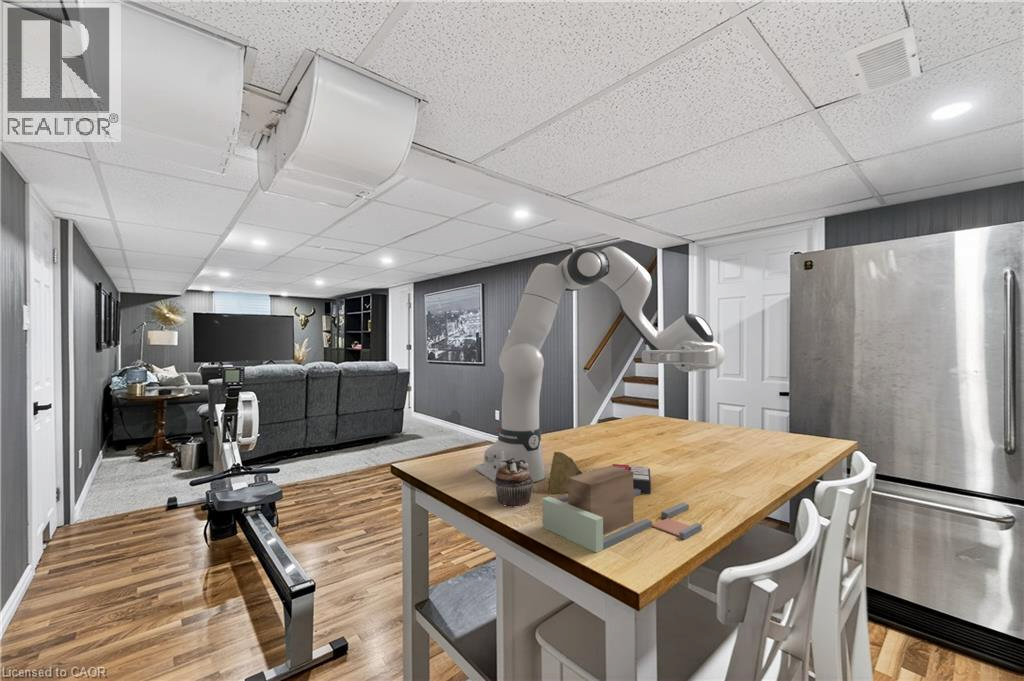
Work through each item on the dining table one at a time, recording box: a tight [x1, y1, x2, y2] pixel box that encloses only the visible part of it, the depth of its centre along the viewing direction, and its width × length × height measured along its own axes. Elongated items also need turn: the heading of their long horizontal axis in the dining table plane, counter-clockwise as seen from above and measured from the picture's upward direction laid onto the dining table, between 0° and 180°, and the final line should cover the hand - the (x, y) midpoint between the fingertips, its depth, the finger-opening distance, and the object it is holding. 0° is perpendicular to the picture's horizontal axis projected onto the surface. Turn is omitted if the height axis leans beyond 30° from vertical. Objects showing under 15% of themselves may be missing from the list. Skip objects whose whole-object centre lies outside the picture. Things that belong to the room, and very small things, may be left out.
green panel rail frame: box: [541, 488, 703, 554], centre depth 95 cm, size 30×33×6 cm
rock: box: [547, 451, 583, 495], centre depth 113 cm, size 11×9×10 cm
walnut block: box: [567, 465, 634, 536], centre depth 91 cm, size 6×14×11 cm, turn 129°
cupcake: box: [494, 458, 534, 508], centre depth 106 cm, size 10×10×10 cm
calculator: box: [611, 463, 652, 495], centre depth 119 cm, size 11×4×15 cm
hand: (662, 357), depth 115 cm, fingers closed
